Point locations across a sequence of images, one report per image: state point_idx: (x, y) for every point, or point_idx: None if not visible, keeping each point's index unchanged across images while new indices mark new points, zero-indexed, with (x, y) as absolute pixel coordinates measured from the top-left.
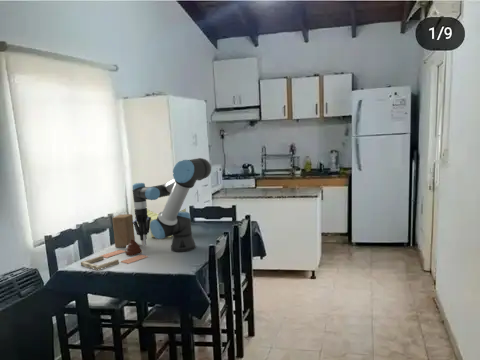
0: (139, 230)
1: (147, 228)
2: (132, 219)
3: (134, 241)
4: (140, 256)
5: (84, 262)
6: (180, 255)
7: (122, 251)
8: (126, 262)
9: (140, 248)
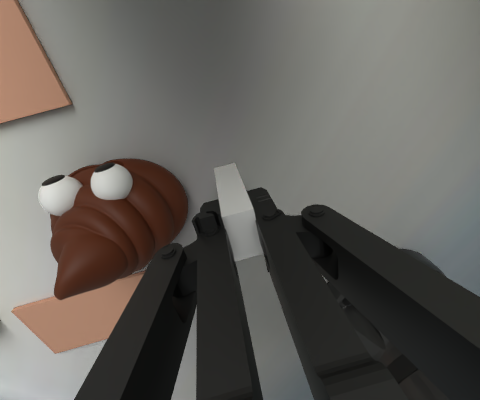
0: (180, 348)
1: (342, 291)
2: None
3: (108, 284)
4: None
5: None
6: (299, 360)
7: (32, 84)
8: (47, 341)
9: (176, 227)
